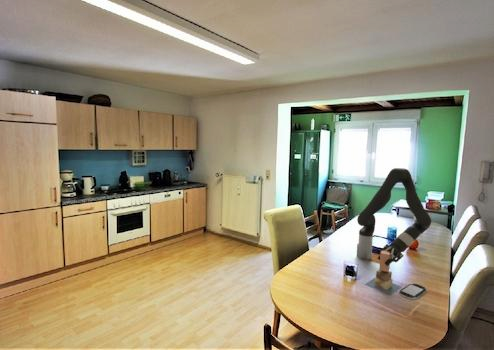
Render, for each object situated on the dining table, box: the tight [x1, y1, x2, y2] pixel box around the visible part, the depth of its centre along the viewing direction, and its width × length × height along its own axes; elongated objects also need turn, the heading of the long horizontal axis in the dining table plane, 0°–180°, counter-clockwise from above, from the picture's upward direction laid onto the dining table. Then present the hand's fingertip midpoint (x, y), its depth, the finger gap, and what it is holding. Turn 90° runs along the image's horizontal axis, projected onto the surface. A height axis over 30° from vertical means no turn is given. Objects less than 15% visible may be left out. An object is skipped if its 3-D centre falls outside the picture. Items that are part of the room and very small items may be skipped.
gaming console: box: [398, 283, 428, 300], centre depth 153 cm, size 19×9×2 cm, turn 126°
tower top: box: [375, 269, 393, 282], centre depth 159 cm, size 6×6×4 cm
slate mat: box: [364, 277, 403, 296], centre depth 159 cm, size 15×15×1 cm
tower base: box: [374, 276, 393, 290], centre depth 159 cm, size 7×7×4 cm
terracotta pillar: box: [378, 250, 391, 272], centre depth 158 cm, size 5×5×10 cm
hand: (382, 262), depth 158 cm, fingers closed on terracotta pillar, 6 cm apart
